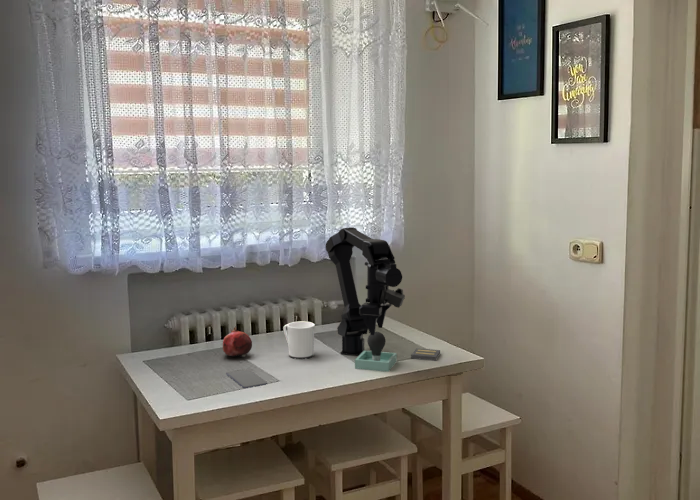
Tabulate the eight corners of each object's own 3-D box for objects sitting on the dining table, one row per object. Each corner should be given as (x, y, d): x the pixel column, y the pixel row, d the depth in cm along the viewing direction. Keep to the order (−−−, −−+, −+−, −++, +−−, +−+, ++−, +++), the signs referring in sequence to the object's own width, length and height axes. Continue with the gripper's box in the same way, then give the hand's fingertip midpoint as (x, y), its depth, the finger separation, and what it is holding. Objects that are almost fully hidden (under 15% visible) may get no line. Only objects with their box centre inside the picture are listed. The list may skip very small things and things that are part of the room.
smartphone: (243, 387, 208) (225, 371, 220) (243, 390, 208) (225, 374, 221) (268, 382, 211) (248, 368, 224) (268, 386, 211) (248, 371, 224)
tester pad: (411, 358, 236) (411, 354, 236) (416, 351, 244) (416, 347, 243) (435, 360, 234) (435, 356, 234) (440, 353, 241) (440, 349, 241)
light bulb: (383, 366, 226) (384, 334, 224) (365, 365, 227) (366, 333, 225) (386, 360, 231) (386, 330, 230) (369, 359, 233) (369, 329, 231)
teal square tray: (354, 368, 226) (354, 359, 225) (364, 358, 236) (364, 350, 235) (388, 371, 223) (388, 362, 222) (396, 361, 233) (396, 353, 232)
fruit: (254, 359, 236) (253, 328, 234) (224, 361, 233) (223, 330, 232) (249, 351, 244) (249, 321, 243) (221, 353, 242) (220, 323, 240)
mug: (319, 353, 242) (319, 323, 240) (306, 360, 234) (306, 329, 232) (290, 349, 246) (290, 319, 245) (277, 356, 238) (276, 325, 237)
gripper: (395, 288, 214) (394, 340, 216) (409, 277, 232) (408, 325, 234) (358, 286, 217) (358, 338, 219) (374, 275, 235) (374, 323, 237)
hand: (376, 331), depth 227 cm, fingers open, 9 cm apart
